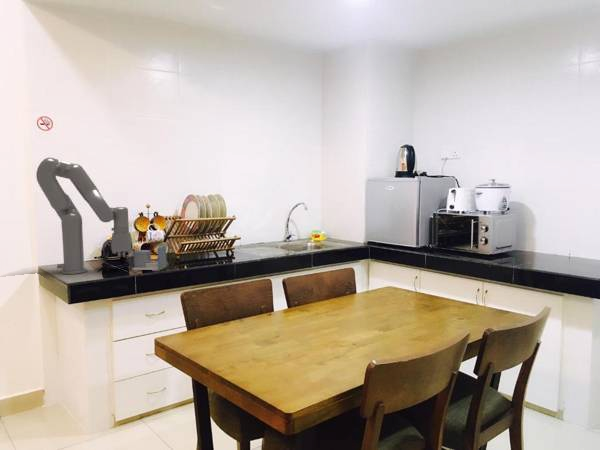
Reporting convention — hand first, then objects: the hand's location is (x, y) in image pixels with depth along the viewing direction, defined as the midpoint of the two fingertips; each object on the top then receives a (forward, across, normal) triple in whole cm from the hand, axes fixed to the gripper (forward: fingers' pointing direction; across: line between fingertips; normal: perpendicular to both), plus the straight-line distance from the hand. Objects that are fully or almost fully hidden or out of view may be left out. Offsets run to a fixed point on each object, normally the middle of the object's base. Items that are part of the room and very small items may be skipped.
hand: (123, 264), depth 267 cm
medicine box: (+2, +11, 0) cm, 11 cm away
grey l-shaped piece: (+3, +14, 0) cm, 15 cm away
